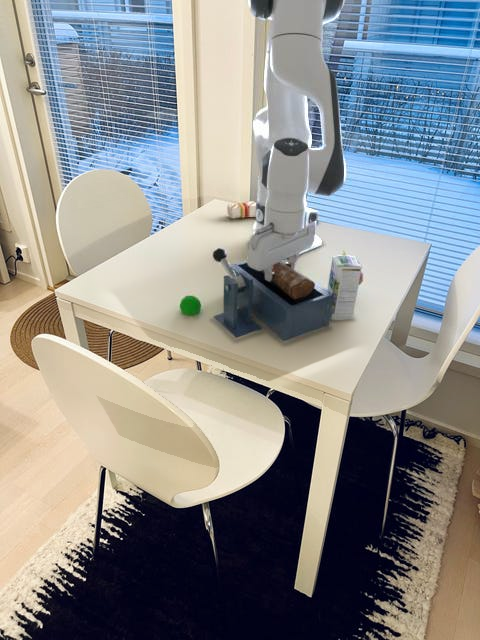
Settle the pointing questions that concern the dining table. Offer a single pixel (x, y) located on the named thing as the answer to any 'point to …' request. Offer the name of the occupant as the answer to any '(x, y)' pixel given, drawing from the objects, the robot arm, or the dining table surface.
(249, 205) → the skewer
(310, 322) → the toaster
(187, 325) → the dining table surface
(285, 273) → the bread
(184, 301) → the polyhedron
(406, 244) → the dining table surface
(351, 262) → the syrup box
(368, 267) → the dining table surface
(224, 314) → the lever bracket
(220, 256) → the toaster lever
